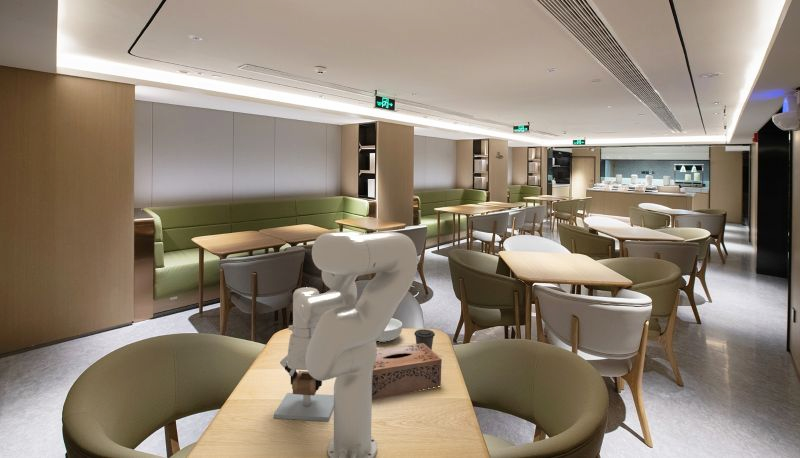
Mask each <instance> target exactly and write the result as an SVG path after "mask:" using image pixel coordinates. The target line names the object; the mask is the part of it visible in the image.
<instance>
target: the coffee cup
mask: <svg viewBox="0 0 800 458" xmlns="http://www.w3.org/2000/svg"><path fill="white" fill-rule="evenodd" d="M413 334H414V336H415V344H421V343H424V344H425V345H426V346H427V347H428V348H430V349H431V350H432V349H433V343H434V337H435V336H436V335H435V332H434V331H433V330H430V329H421V328H420V329H417V330H416V331H415V332H414V333H413ZM432 351H433V350H432Z"/></svg>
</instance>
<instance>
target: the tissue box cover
mask: <svg viewBox="0 0 800 458" xmlns="http://www.w3.org/2000/svg"><path fill="white" fill-rule="evenodd" d="M442 362H443V361H442V358H440V356H438V354H437V353H435V352H434V351H433V350H431V349H430V348H428V347H427V346H426V345H425V344H424V343H421V344H416V343H414V344H408V345H406V344H405V345H400V346H393V347H386V348H385V347H384V348H377V354H376V360H375V364H374V369H373V378H372V401H373V400H378V399H379V400H380V399H382V398H383V399H384V398H388V397H389V398H390V397H394V396H400V395H406V394H411V393H410V392H412V393H416V392H415V391H417V392H420V391H419V390H422V391H424V390H423V389H428V388H433V387H438V386H441V387H442V385H441V384H442V364H443V363H442ZM433 389H434V388H433ZM428 390H429V389H428Z"/></svg>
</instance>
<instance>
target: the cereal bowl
mask: <svg viewBox="0 0 800 458" xmlns="http://www.w3.org/2000/svg"><path fill="white" fill-rule="evenodd" d="M402 331H403V323H402V321H400V320H399V319H396V318H393V317H392V318H391V319H390V321H389V323H388V325H387V327H386V328H385V330H384V332H383V334H382V335H381V336H380V338H379V339H377V340H376V341H379V342H378V343H380V342H385V343H387V342H386V341H389V342H391V341H392V340H395V339H397V338H398V337H400V335H401V334H402ZM390 340H391V341H390Z"/></svg>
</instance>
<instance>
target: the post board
mask: <svg viewBox="0 0 800 458" xmlns="http://www.w3.org/2000/svg"><path fill="white" fill-rule="evenodd" d="M333 412H334V394H319V393H315V395H299V394H293V392H287V393H286V395H284V398H283V399H282V401H281V402H280V404H279V405H278V407H277V409H276V410H275V412H274V413H273V419H284V420H300V421H301V420H302V421H303V420H304V421H321V422H329V421H330V420H331V417H332V415H333V414H332V413H333Z"/></svg>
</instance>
